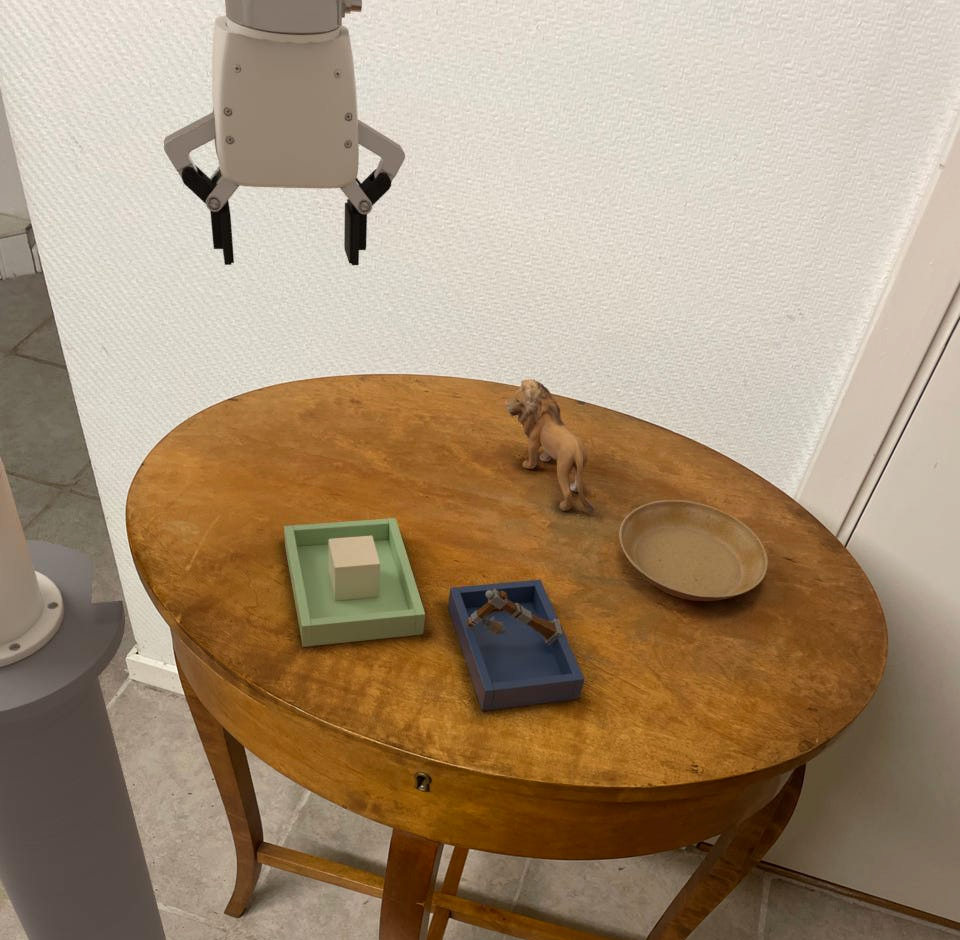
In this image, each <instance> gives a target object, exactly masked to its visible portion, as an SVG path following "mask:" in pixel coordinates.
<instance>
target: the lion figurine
mask: <svg viewBox="0 0 960 940" xmlns="http://www.w3.org/2000/svg"><path fill="white" fill-rule="evenodd" d="M520 382H521V385H520V386H519V388H518V390H516V391H515V393H514V395H512V396H511V397H510V398H508V399H506V400H505V401H504V405H505V406H506V409H507V412H508V415H509V416H510V417H517V421H518V422H519V423H520V424H521V426H523V427H522V428H523V434H524V435H525V436H526V437H527V439H528V441H527V442H528V444H527V449H528V450H527V451H528V459H525V460H524V461H523V462H522V468H524V469H525V470H526V469H527V470H532V469H535V468H536V466H537V462H538V461H537V460H538V458H537V457H538V451H539V450H540V449H541V447H542V448H543V452H542V453H541V454H540V455H539V459H540V460H541V461H542V462H547V463H548V462H550V461H551V459H554V460H555V461H556V473H557V474H556V475H557V481H558V483H559V487H560V489H561V492H562V495H563V499H564V500H561V501H560V502H559V506H558V507H559V509H560V510H561V511H562V512H566V511H569V510H571V508H572V506H573V493H572V492H575V493H578V497H579V500H580V503H582V506H583V507H584V509H585V511H586V512H588V513H590V514H593V513H595V512H596V509H595V508H594V507H593V506H592V504H590V503H589V502H588V500H587V499H586V497H585V495H584V486H583V483H584V481H583V480H584V475H583V474H584V471H585V470H584V469H585V468H586V465H587V464H588V451H587V448H586V445H585V443H584V441H583V440H582V439H581V438H580V437H578V436H576V435H575V434H574V433H573V432H572V431H571V430H570V428H569V427H567V425H566V424H565V423H564V422H563V419H562V417H561V408H560V406H559V404H558V401H557V399H556V398H555V397H554V395H553V393H551V391H550V390H549V389H548V388H547V387H546V386H544V384H543V383H541V382H539V381H538V380H536V379H532V378H531V379H521V381H520ZM572 471H574V476H575V478H574V482H572V483H570V474H571V472H572Z"/></svg>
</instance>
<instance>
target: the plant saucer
mask: <svg viewBox="0 0 960 940" xmlns="http://www.w3.org/2000/svg"><path fill="white" fill-rule="evenodd" d="M618 537H619V543H620V547H621V548H622V551H623V553H624V555H625V558H626V559H627V561H628V562H629V563H630V565H631V567H633V569H634V570H635V571H636V572H637V573H638V574H639V576H641V577H642V578H643V579H644V580H645V581H647V582H648V583H649V584H650V585H652V586H653V587H654V588H656V589H657V590H659V591H661V592H663V593H665V594H668V595H671V596H673V597H675V598H676V597H677V598H679V599H684V600H686V601H687V600H689V601H695V602H712V601H713V602H715V601H722V600H727V599H731V598H734V597H737V596H740V595H743V594H745V593H747V592H749V591H751V590H752V589H754V588H756V586H758V585H759V584H760V583H761V582H762V581H763V580H764V578H765V576H766V574H767V571H768V567H769V558H768V554H767V550H766V548H765V546H764V543H763V542H762V540H760V538H759V536H757V534H756V533H755V532H754V531H753V530H752V529H751V528H750V527H749V526H748V525H747V524H745V523H744V522H743V521H741V520H740V519H738V518H737V517H735V516H733V515H731V514H730V513H728V512H726V511H723V510H721V509H719V508H716V507H714V506H711V505H707V504H704V503H699V502H696V501H690V500H684V499H682V500H681V499H665V500H664V499H663V500H656V501H652V502H647V503H644V504H643V505H640V506H637V507H636V508H634V509H633V510H631V511H629V513H628V514H627V515H626V516H625V518H624V519H623V520H622V522H621V523H620V527H619V533H618Z"/></svg>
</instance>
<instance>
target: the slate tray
mask: <svg viewBox="0 0 960 940" xmlns="http://www.w3.org/2000/svg"><path fill="white" fill-rule="evenodd" d="M494 589H496V590H497V591H499V592H501V591H504V592H506V594H507V598H506V599H508V600H510V601H511V602H513V603H514V604H515V603H517V604H519V607H520V606H522V607H523V608H525V609H526V610H528V611H530V612H531V614H532V615H534V616H536V617H539V618H542V619H544V620H547V621H551V622H552V621H553V620H554V619H557V620H558V616H557V613H556V610H555V608H554V607H553V604H552V602H551V600H550V598H549V596H548V593H547V591H546V589H545V586H544V584H543V582H542V580H541V579H533V580H532V579H531V580H520V581H508V582H497V583H485V584H477V585H465V586H463V585H462V586H456V587H449V593H448V602H447V611H448V613H449V616H450V619H451V622H452V625H453V628H454V631H455V634H456V637H457V640H458V643H459V646H460V649H461V652H462V655H463V658H464V661H465V664H466V667H467V669H468V673H469V676H470V679H471V682H472V685H473V688H474V691H475V695H476V697H477V700H478V704H479V706H480V709H481V711H482V712H485V711H494V710H501V709H508V708H517V707H525V706H532V705H534V706H535V705H541V704H549V703H558V702H564V701H573V700H579V699H580V697H581V693H582V690H583V686H584V684H585V683H584V682H585V677H584V675H583V672H582V670H581V668H580V665H579V663H578V661H577V659H576V657H575V654H574V652H573V650H572V647H571V645H570V643H569V641H568V638H567V637H566V634H565V631H564V630H563V627H562V625H561V623H560V621H559V623H560V627H561V631H562V634H561V635H560V636H557V637H556V640H554V641H553V642H552V643H551V644H550V645H549V646H548V645H547V644H545V640H544V637H543V636H542V635H541V634H540V633H538V632H537V631H536V630H534V629H533V628H532V627H530V626H528V625H527V624H526V625H524V624H522V623H521V622H519V621H517V620H515V617H514V618H512V617H510V614H509V613H508V612H506V611H502V612H498V613H493V614H488V615H486V616H485V617H483V619H486V618H488V619H489V620H490V619H491V618H492V617H493V616H494V620H496V621H498V622H502V623H503V627H504V628H505V633H503V634H498V635H497V636H496V634H494V633H493V632H491V631H489V632H487V630H486V625H485V626H484V624H483V623H482V622H481V621H480V622H479V623H478V624H477V623H476V625H475V626H473V627H472V628H470V627H469V626H467V623H466V620H468V619H469V617H471V615H472V614H473V613H474V612H475V611H476V610H477V611H478V610H479V609H480V608H482V607H483V606H484V605H485V604H486V603H487V602H488V598H487V597H486V596H485V593H486V592H487V591H488V590H491V591H493V590H494ZM495 608H497V607H495ZM495 608H494V609H495ZM482 621H483V620H482Z"/></svg>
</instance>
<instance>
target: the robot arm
mask: <svg viewBox="0 0 960 940" xmlns="http://www.w3.org/2000/svg"><path fill="white" fill-rule="evenodd" d="M224 4H225V5H224V7H225V15H221V16H218V17H216V18H215V20H214V27H213V34H212V35H213V36H212V48H211V49H212V50H211V94H212V95H211V97H212V99H211V100H212V112H210V113H209V114H206V115H204V116H203V117H200V118H199V119H197V120H195V121H193V122H191V123H190V124H187V125H186V126H183V127H182V128H180V129H178V130H176V131H175V132H172V133H169V135H167V136H165V137H164V140H163V150H164V153H165V155H166V156H167V157H168V159H169V160H170V162H171V164H172V166H173V167H174V169H175V170H176V172H177V173H178V175H179V176H180V178H181V181H182V183H183V184H184V186H186V187H187V188H188V189H189V190H190V191H191V192H192V193H193V194H194V195H195V196H197V197H198V199H200V200H201V201H202V202H203V203H204V204H205V206H206V208H207V209H208V210H209V212H210V224H211V235H212V245H213V246H212V247H213V250H222V254H223V261H224V263H223V264H224V265H225V266H231V265H232V264H235V256H234V255H235V254H234V245H233V243H234V242H233V230H232V229H233V228H232V216H231V210H230V209H231V208H230V203H229V200H230V199H231V197H232V196H233V195H234V193H235V192H236V191H237V189H238V188H239V187H240V186H242V187H251V188H253V187H254V188H277V189H278V188H279V189H280V188H282V189H340V190H341V192H342V193H343V194H344V195H345V196H346V198H347V199H346V202H344V232H343V233H344V236H343V238H344V240H343V243H344V247H343V249H344V252H345V255H346V258H347V262H348V264H350V265H351V266H359V263H360V251H366V250H367V237H368V235H367V234H368V233H367V231H368V214H370V213H371V212H372V210H373V206H374V205H376V203H377V202H378V201H379V200H380V199H381V198H382V197H383V196H384V195H385V194H386V193H387V192H389V190H390V189H391V187H392V182H393V180H394V179H395V178H396V176H397V175H398V172H399V170H400V169H401V167H402V165H403V164H404V162H405V159H406V154H405V151H404V149H403V146H401V145H400V143H397V142H396V141H395V140H393V139H391V138H389V137H388V136H386V135H385V134H383V133H381V132H380V131H378V130H376V129H374V127H372V126H370V125H368V124H367V123H365V122H364V121H362V120H360V119H359V118H358V100H357V99H358V98H357V86H356V85H357V84H356V75H355V63H354V56H353V49H352V43H351V36H350V32H349V29H348V27H346V26H345V25H343V18H346V14H348V15H350V14H351V12H354V13H361V12H362V9H363V8H362V7H363V0H224ZM212 141H214V147H215V153H216V157H217V161H218V165H219V166H218V167H217V168H216V169H215V171H214V172H213V173H212V175H211V176H210V177H209V176H208V175H207V174H206V173H205V172H204V171H203V170H202V169H200V168H199V167H198V166H197V165H196V164H195V161H194V160H193V159H192V157H191V155H190V154H191V152H193V151H194V150H196V149H198V148H200V147H202V146H204V145H205V144H207V143H209V142H212ZM359 145H360V146H361V147H363V148H365V149H367V150H369V152H371V153H373V154H375V155H376V156H378V157H380V160H379V162H378V165H377V167H376V168H375V169H374V170H373V171H372V172H371V173H370V174H369V175H368V176H367V177H366V178H365V179H364V180H363V181H362V182H361V180H360V179H359V178H358V173H359V164H360V163H359V160H360V159H359V158H360V157H359V156H360V153H359V152H360V150H359V149H360V147H359ZM5 468H6V467H5V464H4V462H3V459H2V457H1V455H0V667H4V666H7V665H9V664H12V663H15V662H18V661H20V660H22V659H24V658H26V657H28V656H30V655H32V654H33V653H35V652H36V651H38V650H39V649H41V648H42V647H43V646H44V645H46V644H47V643H48V642H49V641H50V640H51V639H52V638H53V637H54V635H55V634H56V632H57V631H58V630H59V628H60V626H61V623H62V621H63V618H64V611H65V609H64V603H63V599H62V596H61V593H60V590H59V589H58V587H57V586H56V585H55V583H54V582H53V581H51V580H50V579H49V578H48V577H47V576H45V575H43V574H41V573H39V572H37V571H35V570H34V567H33V563H32V560H31V556H30V553H29V550H28V546H27V543H26V540H27V539H26V536H25V533H24V530H23V526H22V523H21V519H20V516H19V512H18V510H17V506H16V502H15V499H14V495H13V492H12V489H11V485H10V482H9V479H8V475H7V472H6V469H5Z"/></svg>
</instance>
